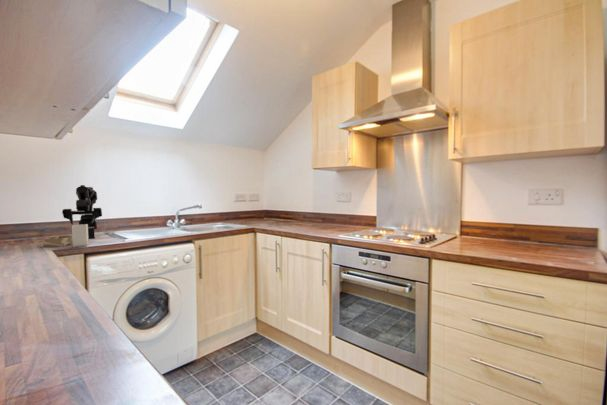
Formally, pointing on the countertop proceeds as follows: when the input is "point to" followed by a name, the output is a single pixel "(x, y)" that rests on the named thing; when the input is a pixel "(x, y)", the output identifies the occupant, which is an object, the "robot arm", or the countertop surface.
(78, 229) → the grey tote
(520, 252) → the countertop surface
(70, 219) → the robot arm
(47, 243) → the beech crate
